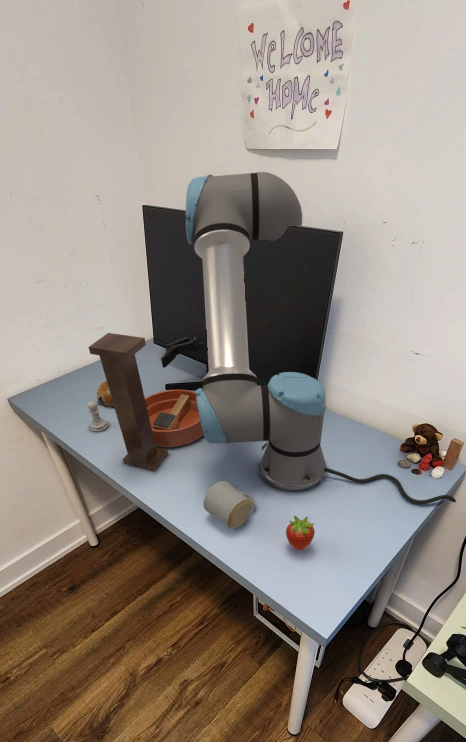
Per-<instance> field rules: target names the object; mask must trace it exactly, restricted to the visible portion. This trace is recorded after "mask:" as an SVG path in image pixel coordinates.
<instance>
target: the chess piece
mask: <svg viewBox="0 0 466 742" xmlns="http://www.w3.org/2000/svg"><path fill="white" fill-rule="evenodd" d="M87 408H88V413H89V414H91V417H92V421H91V422H90V424H89V426H90V430H92V431H93V432H102V431H105V430H106V429H107V428H108V425H109V424H108V422H107V420H106V419H104V418H102V417H101V416H100V413H99V412H100V408H98V404H97V402H96V401H89V402H88V403H87Z"/></svg>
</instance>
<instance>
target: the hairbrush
mask: <svg viewBox="0 0 466 742" xmlns="http://www.w3.org/2000/svg"><path fill="white" fill-rule="evenodd" d="M189 402H190V396H189V395H183V394H182V395H181V396H180V398H179V399H178V401H177V402H176V404H175V406H174V407H173V409H172V410H171V412H170V413H169V414H167V413H162V412H160V413H159V415H158V416H157V418H156V419H155V421H154V422H153V425H152V427H153V429H154V430H175V429H178V427H179V426H180V425H179V421H178V420H179V418H180V416H181V415H182V413H183V412H184V410H185V408H186V407H187V405H188V404H189Z"/></svg>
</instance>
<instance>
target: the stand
mask: <svg viewBox="0 0 466 742" xmlns="http://www.w3.org/2000/svg"><path fill="white" fill-rule="evenodd" d="M146 345H147V342H146V337H141V336H135V335H126V334H119V333H112V332H107V333H106V334H104V335H102V337H100V338H98V339H97V340H96V341H95V342H93V343H92V344H90V345H89V346H88V350H89V354H90V355H93V356H94V355H95V356H99V359H100V363H101V366H102V369H103V373H104V376H105V381H106V380H107V384H108V387H109V391H110V394H111V398H112V401H113V404H114V407H113V408H114V411H115V414H116V418H117V421H118V425H119V429H120V432H121V435H122V439H123V443H124V445H125V448H126V454H125V456H124V457H122V462H123V464H124V465H127V466H131V467H135V468H140V469H143V470H147V471H152V472H156V471H157V469H158V468H159V467H160V466H161V465H162V463H164V461H165V459H166V458H167V457H168V456H169V452H168V449H165V448H162V447H158V446H155V441H154V437H153V433H152V428H151V424H150V419H149V415H148V411H147V406H146V402H145V398H146V397H145V393H144V389H143V385H142V379H141V376H140V373H139V367H138V366H139V365H138V363H137V358H136V354H137V353H138V352H139V351H141V350H142V349H143V348H144V347H146Z"/></svg>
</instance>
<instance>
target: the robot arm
mask: <svg viewBox="0 0 466 742" xmlns="http://www.w3.org/2000/svg"><path fill="white" fill-rule="evenodd" d="M186 189H187V190H186V197H185V231H186V240H187V242H188V244H189V245H191V246H194V248H193V249H194V252H195V254H196V255H197V256H198V257H199V258H200V259H202V275H203V276H202V277H203V291H204V293H203V294H204V310H205V311H204V312H205V327H206V330H207V348H208V351H207V363H206V365H205V368H206V374H205V376H204V377H202V381H201V384H202V388H201V387H199V388H197V389H195V392H196V400H197V406H198V411H199V416H200V421H201V425H202V430H203V433H204V435H203V436H204V438H205V440H206V441H207V442H208V443H210V444H226V445H229V444H236V443H237V444H239V443H254V442H265V443H264V444H263V445H262V446H261V451H263V450H264V449H265V450H264V452H263V455H262V457H261V459H260V474H261V477H262V478H263V480H264V481H265V482H266V483H267V484H268V485H270V486H271V487H273V488H275V489H277V490H281V491H286V492H303V491H308V490H309V489H312V488H314V487H316V486H318V485H319V484H320V483H321V482H322V481H323V479H324V478H325V474H326V473H329V474H332V475H334V476H338V477H341V478H343V479H346V480H348V481H351V482H354V483H358V484H367V483H370V482H373V481H376V480H379V479H388V480H391V481H392V482H394V484H395V485H396V487H397V488H398V490H399V492H400V494H401V496H402V497H403V499H405V500H407V501H408V502H410V503H412V504H416V505H428V504H431V503H435V502H439V501H441V500H448V501H450V502H451V503H456V502H457V500H456V498H455V497H454V496H451V495H450V494H449V495H448V494H440V495H438V496H434V497H430V498H428V499H415V498H413V497H411V496H409V494H407V492H406V491H405V489H404V488H403V485H402V483H401V482H400V481H399V480H398V478H397V477H395V476H393V475H390V474H388V473H379V474H375V475H373V476H370V477H367V478H363V479H362V478H356V477H353V476H351V475H348V474H346V473H343V472H341V471H338V470H335V469H331V468H328V467H327V464H326V460H325V456H324V452H323V449H322V445H321V444H322V434H323V426H324V419H325V412H326V409H327V406H326V390H325V388H324V386H323V384H321V382H320V381H318V380H317V379H316V378H314V377H312V376H310V375H308V374H306V373H302V372H297V371H296V372H295V371H284V372H280V373H278V374H275V375H273V376H272V377H271V378H270V380H269V381H268V384H264V385H263V384H261V385H258V378H257V375H256V374H255V373H253V371H252V370H250V359H249V343H248V341H249V340H248V322H247V303H246V302H247V301H245V283H244V273H245V268H244V267H245V266H244V265H245V264H244V257H245V256H246V255H247V253H248V252H249V250H250V248H251V242H255V241H261V240H270V241H275V240H277V239H279V238H280V237H281V236H282V235H283V234H284V232H285V231H286V229H287V228H288V227H289V226H287V225H292V226H301V227H302V226H303V210H302V206H301V203H300V200H299V198H298V196H297V194H296V192H295V191H294V189H293V188H292V187H291V186H290V184H289V183H287V182H286V181H285V180H284V179H282V178H281V177H280V176H278V175H276V174H273V173H270V172H266V171H257V172H248V173H236V174H235V173H234V174H224V175H223V174H221V175H213V174H207V175H205V176H197V177H196V176H195V177H193V178H192V179H191V181H189V183H188V185H187V188H186ZM196 341H197V342H196ZM196 343H197V345H196ZM197 347H198V349H197ZM203 349H204V344H203V343H202V342H199V339H197V338H196V337H194V339H192V340H191V341H190V340H189V337H186V336H184V337H182V338H179V339H176V340H174V341H172V342H169V343H167V344H165V351H166V352H165V353H164V355H163V356H161V358H160V360H161V364H162V365H161V366H162V368H164V369H165V368H166V367H168V366H169V365H170V364H171V363H172V362H173V361H174V360H175V359H176V358H177V356H179V355H182V354H186V353H189V352H200V351H204V350H203ZM199 350H200V351H199Z"/></svg>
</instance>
